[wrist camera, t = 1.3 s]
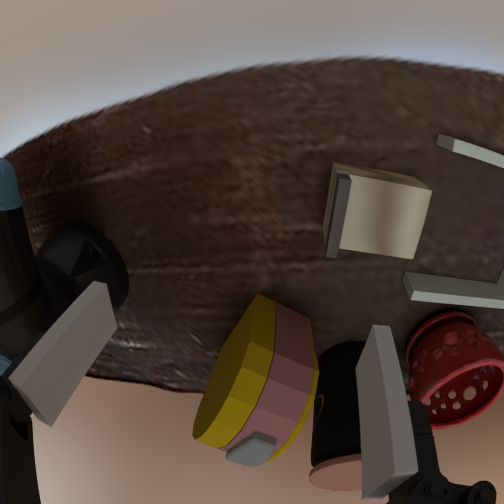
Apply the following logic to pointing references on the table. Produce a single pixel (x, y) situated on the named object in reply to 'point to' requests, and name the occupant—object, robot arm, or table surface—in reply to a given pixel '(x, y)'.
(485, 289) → the dock
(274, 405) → the alarm clock
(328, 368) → the coffee jar
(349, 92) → the table surface
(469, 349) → the plant pot
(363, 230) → the beige block
